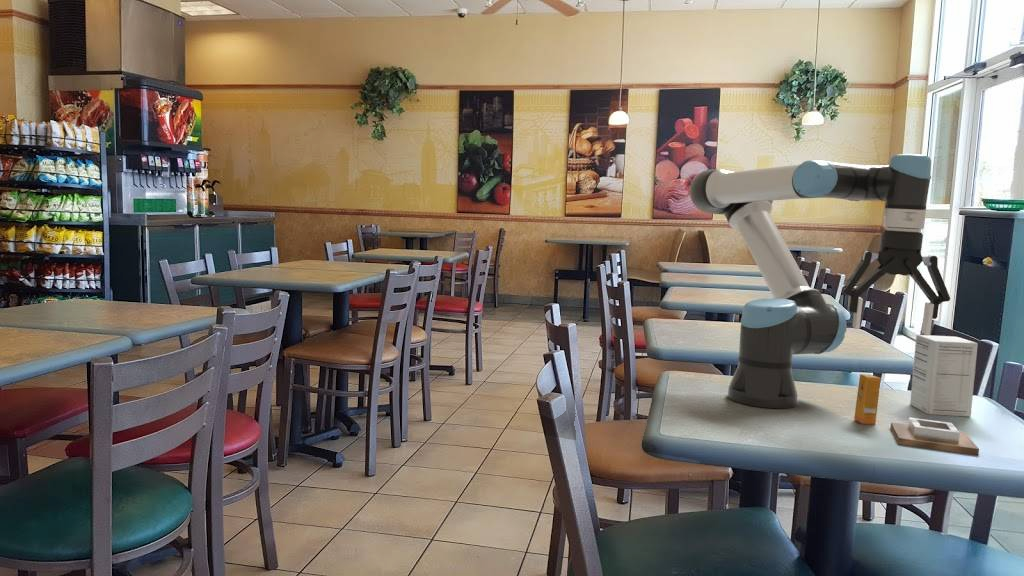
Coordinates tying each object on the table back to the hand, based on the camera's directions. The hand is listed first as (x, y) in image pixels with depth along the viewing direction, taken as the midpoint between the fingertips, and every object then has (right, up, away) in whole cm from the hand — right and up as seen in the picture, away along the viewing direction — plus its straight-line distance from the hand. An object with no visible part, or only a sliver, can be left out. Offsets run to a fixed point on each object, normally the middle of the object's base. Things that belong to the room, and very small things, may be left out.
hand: (890, 331), depth 148 cm
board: (+2, -21, -11) cm, 24 cm away
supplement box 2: (+18, -19, +13) cm, 30 cm away
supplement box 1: (-5, -19, 0) cm, 20 cm away
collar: (+2, -19, -12) cm, 23 cm away
